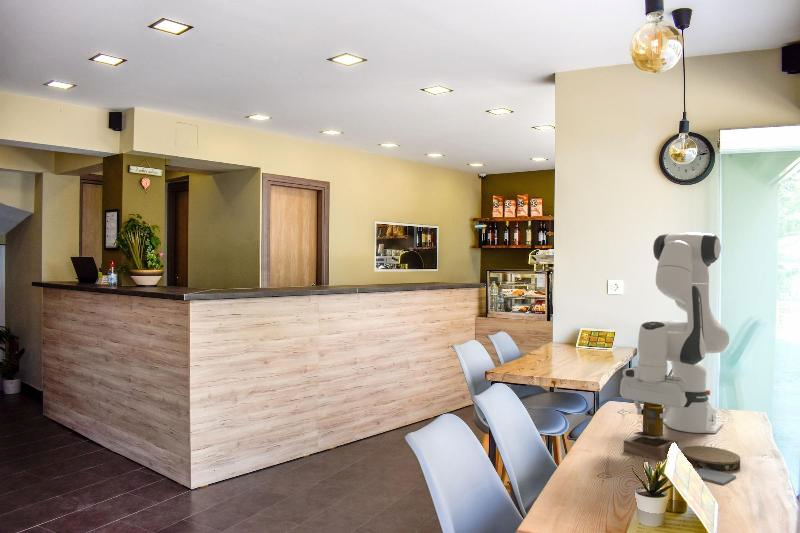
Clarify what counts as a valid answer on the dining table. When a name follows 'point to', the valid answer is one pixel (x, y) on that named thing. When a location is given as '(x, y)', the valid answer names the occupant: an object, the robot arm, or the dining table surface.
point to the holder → (648, 446)
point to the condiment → (652, 421)
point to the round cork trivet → (712, 458)
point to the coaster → (715, 476)
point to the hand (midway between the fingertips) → (651, 416)
